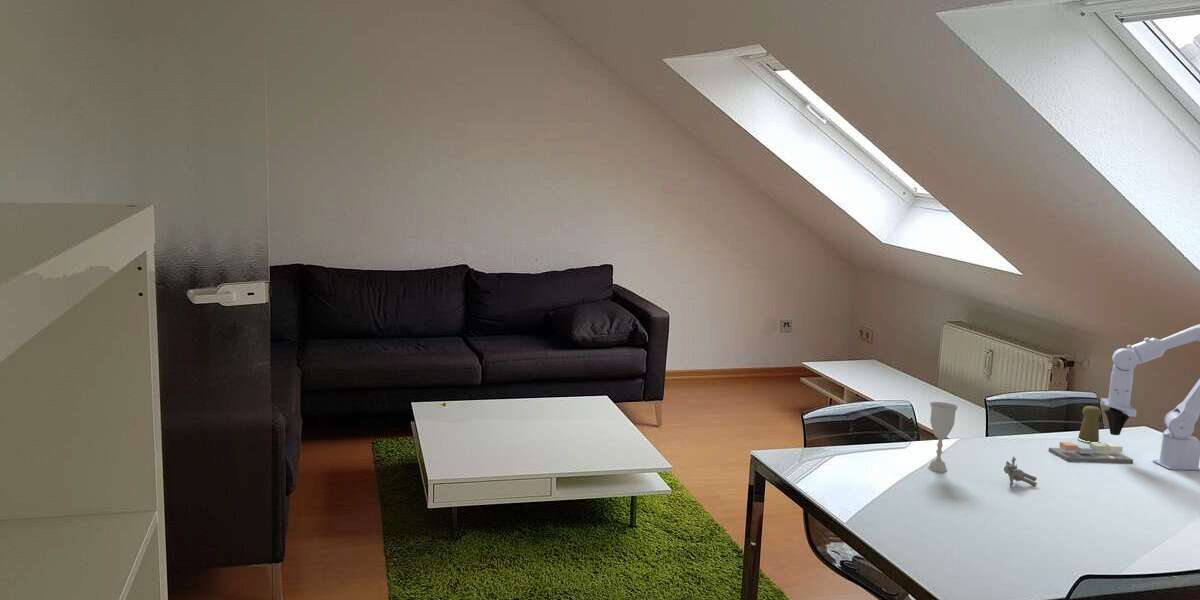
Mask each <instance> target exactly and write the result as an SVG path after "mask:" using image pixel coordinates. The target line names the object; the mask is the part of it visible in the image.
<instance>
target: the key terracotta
mask: <svg viewBox="0 0 1200 600" xmlns="http://www.w3.org/2000/svg"><path fill="white" fill-rule="evenodd" d="M1077 445H1078V444H1076V443H1074V442H1072V441H1059V447H1058V448H1062V449H1064V450H1066V451H1077Z"/></svg>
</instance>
